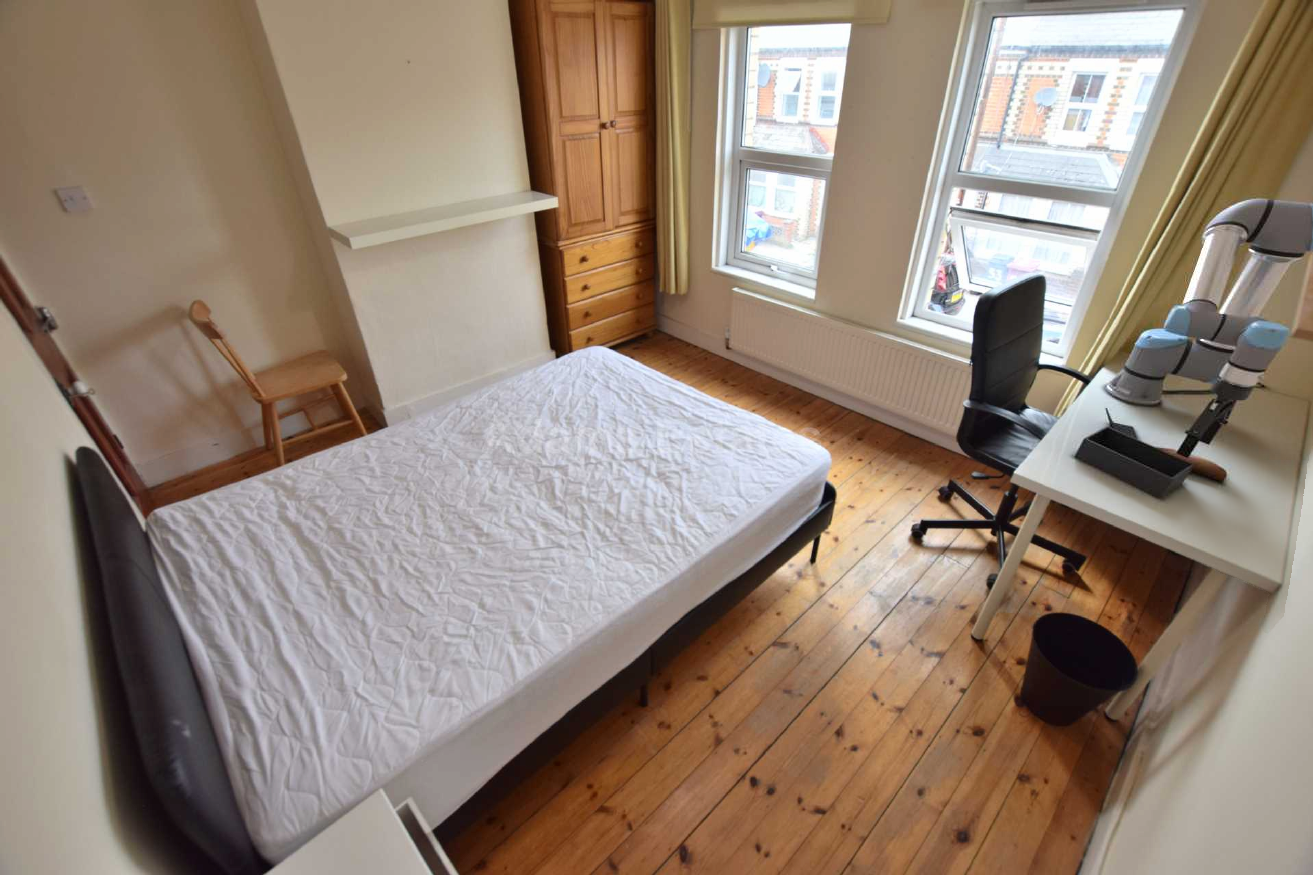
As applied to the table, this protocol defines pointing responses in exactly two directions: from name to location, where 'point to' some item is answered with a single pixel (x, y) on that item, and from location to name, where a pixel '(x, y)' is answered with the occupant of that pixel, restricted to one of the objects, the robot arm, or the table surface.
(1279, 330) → the robot arm
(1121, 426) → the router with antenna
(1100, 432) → the bin
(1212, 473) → the sunglasses case
